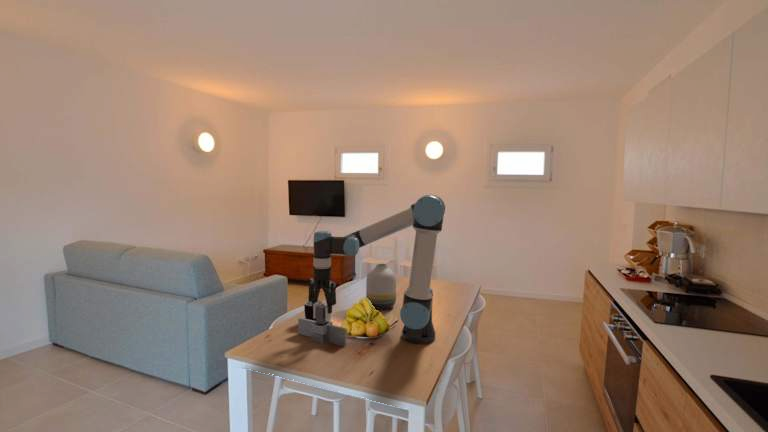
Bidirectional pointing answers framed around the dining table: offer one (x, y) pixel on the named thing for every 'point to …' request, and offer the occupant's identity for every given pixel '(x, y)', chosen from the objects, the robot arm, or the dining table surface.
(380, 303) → the vase
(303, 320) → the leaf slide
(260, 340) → the dining table surface
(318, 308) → the pin
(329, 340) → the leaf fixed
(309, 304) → the mug
